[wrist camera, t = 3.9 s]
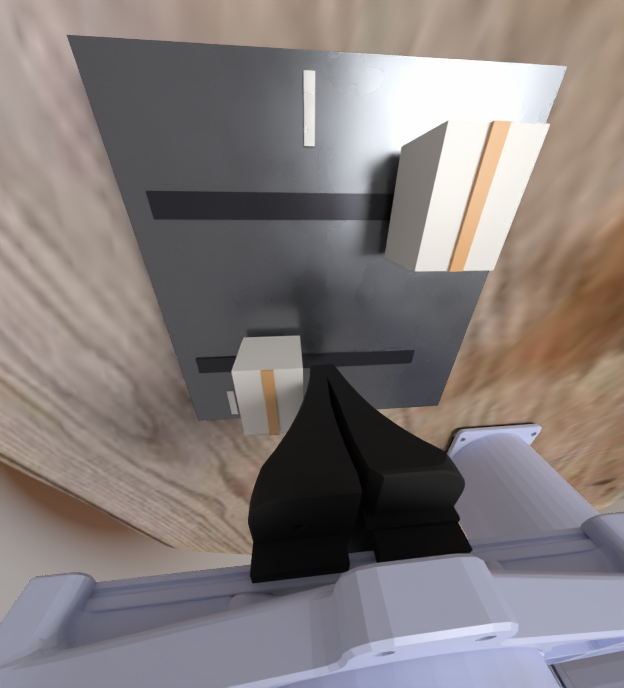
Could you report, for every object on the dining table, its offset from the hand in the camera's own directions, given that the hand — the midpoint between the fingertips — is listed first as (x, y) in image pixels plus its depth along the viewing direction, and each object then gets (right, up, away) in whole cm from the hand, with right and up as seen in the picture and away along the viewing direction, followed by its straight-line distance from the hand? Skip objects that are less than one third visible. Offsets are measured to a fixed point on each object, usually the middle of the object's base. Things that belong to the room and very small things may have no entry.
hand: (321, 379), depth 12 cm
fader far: (-3, +1, +1) cm, 3 cm away
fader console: (0, +5, +1) cm, 5 cm away
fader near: (+4, +8, -2) cm, 9 cm away
